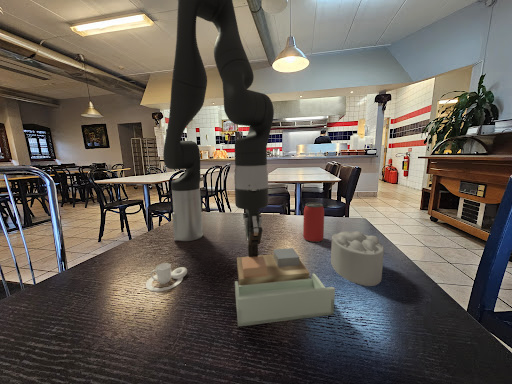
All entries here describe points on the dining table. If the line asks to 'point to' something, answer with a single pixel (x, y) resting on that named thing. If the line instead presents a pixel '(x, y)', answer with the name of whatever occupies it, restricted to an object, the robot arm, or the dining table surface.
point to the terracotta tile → (254, 266)
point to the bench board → (273, 272)
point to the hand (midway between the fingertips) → (253, 257)
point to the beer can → (313, 222)
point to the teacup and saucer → (166, 276)
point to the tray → (283, 301)
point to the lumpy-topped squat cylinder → (357, 257)
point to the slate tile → (285, 257)
